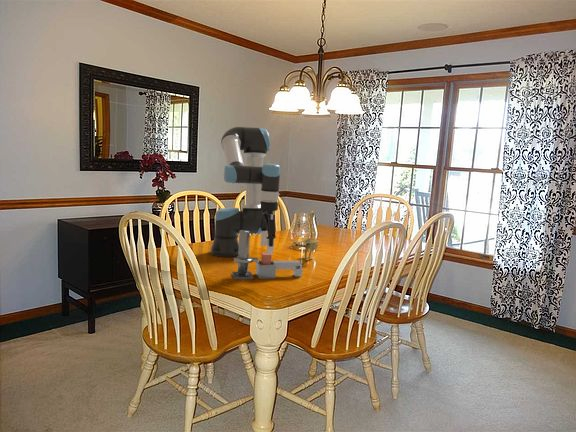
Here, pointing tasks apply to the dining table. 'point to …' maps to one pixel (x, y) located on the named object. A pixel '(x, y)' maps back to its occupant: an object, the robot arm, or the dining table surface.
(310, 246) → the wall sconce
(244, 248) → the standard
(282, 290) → the dining table surface
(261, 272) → the bracket
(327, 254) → the dining table surface
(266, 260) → the wedge pin
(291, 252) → the dining table surface
